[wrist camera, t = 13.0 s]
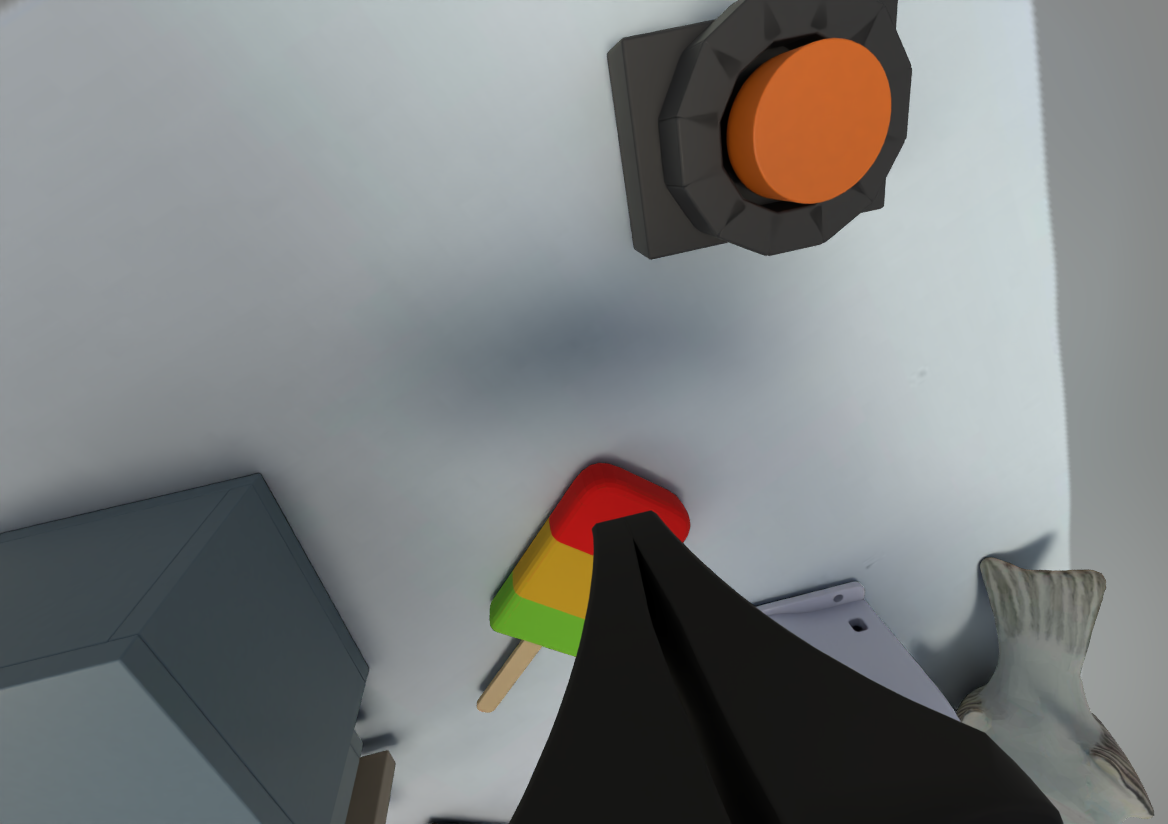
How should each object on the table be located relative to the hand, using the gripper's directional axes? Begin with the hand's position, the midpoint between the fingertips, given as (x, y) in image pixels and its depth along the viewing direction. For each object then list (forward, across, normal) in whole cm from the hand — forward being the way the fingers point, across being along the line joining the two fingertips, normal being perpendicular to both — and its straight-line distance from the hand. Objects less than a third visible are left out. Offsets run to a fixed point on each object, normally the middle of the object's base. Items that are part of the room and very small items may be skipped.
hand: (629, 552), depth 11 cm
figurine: (+3, -18, +25) cm, 31 cm away
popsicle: (+11, +3, +11) cm, 15 cm away
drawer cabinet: (+10, +18, +7) cm, 22 cm away
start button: (+7, -7, -7) cm, 12 cm away
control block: (+10, -7, -7) cm, 14 cm away
